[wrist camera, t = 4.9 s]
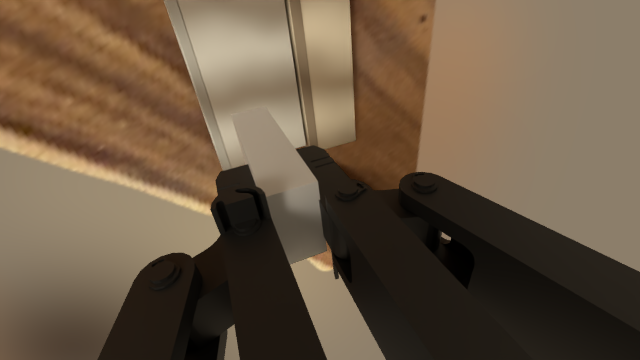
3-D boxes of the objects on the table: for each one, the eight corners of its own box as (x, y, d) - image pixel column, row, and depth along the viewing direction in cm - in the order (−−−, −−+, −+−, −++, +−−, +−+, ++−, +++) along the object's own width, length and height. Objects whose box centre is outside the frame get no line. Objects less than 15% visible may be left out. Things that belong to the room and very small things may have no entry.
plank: (163, 0, 20) (164, 0, 19) (273, -15, 23) (282, -16, 21) (219, 161, 28) (223, 171, 26) (298, 137, 30) (306, 145, 29)
